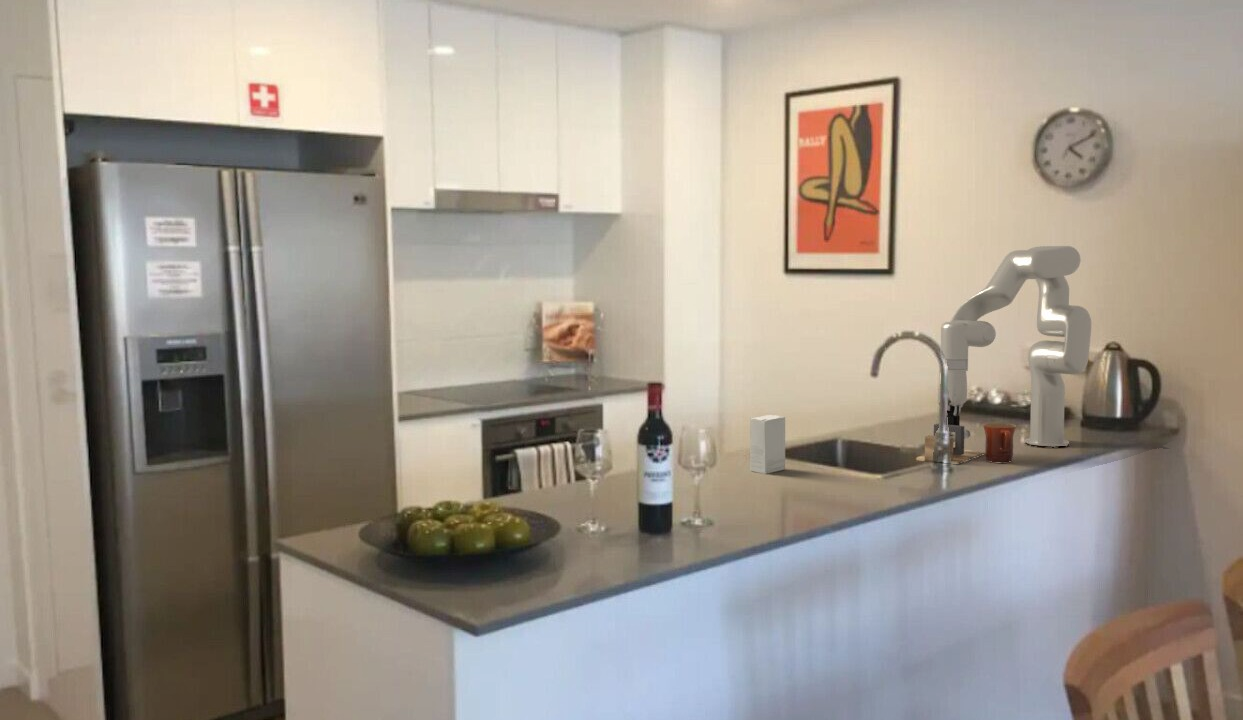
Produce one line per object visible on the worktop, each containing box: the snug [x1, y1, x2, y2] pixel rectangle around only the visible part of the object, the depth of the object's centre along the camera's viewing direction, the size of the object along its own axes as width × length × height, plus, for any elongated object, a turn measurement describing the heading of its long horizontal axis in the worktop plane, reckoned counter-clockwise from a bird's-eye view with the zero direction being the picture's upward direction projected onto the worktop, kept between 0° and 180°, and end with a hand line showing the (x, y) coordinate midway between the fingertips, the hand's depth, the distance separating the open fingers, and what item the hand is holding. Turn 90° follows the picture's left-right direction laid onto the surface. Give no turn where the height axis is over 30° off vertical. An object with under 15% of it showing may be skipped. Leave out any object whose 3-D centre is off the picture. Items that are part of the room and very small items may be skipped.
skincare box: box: [749, 414, 786, 475], centre depth 285 cm, size 8×6×15 cm
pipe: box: [949, 429, 971, 443], centre depth 302 cm, size 18×3×3 cm, turn 139°
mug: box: [982, 422, 1017, 463], centre depth 293 cm, size 12×9×10 cm
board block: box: [915, 435, 985, 464], centre depth 302 cm, size 20×12×7 cm, turn 139°
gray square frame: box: [933, 423, 965, 455], centre depth 300 cm, size 2×8×8 cm, turn 49°
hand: (952, 429), depth 302 cm, fingers closed
